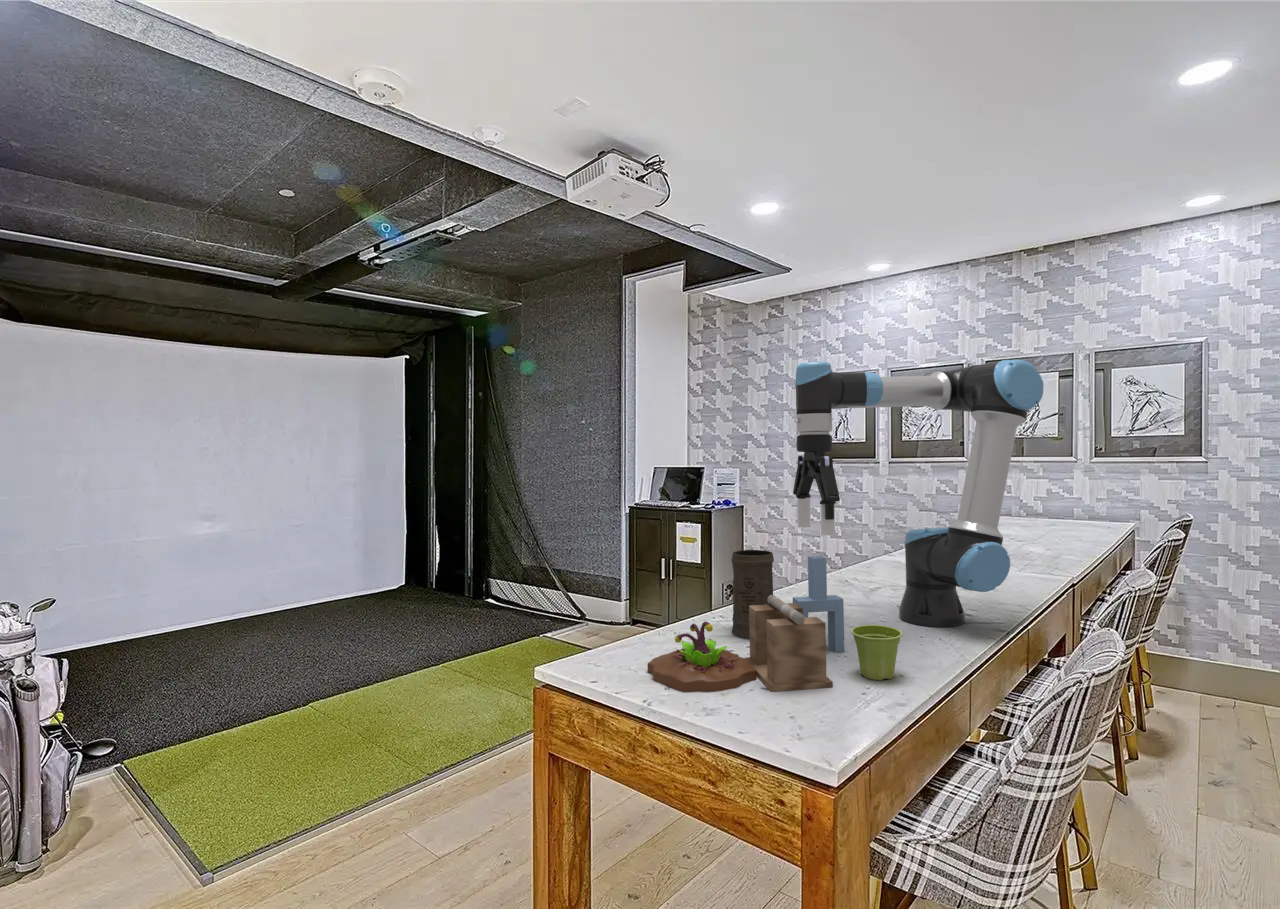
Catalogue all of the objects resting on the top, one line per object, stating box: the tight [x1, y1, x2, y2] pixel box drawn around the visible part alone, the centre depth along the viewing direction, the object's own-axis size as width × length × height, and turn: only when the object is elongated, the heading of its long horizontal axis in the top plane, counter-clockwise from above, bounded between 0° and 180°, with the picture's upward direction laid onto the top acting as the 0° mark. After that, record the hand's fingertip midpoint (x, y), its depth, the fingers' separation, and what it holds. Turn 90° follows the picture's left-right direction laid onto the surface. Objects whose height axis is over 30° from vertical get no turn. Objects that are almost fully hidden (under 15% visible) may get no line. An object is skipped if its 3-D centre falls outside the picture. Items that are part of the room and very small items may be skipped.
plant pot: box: [850, 624, 903, 681], centre depth 133 cm, size 9×9×9 cm
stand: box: [744, 594, 834, 693], centre depth 135 cm, size 12×17×14 cm
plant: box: [647, 621, 758, 693], centre depth 136 cm, size 20×20×11 cm
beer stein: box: [731, 549, 775, 640], centre depth 166 cm, size 15×11×20 cm
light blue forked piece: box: [792, 555, 845, 653], centre depth 149 cm, size 10×4×20 cm, turn 97°
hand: (815, 531), depth 149 cm, fingers open, 13 cm apart
